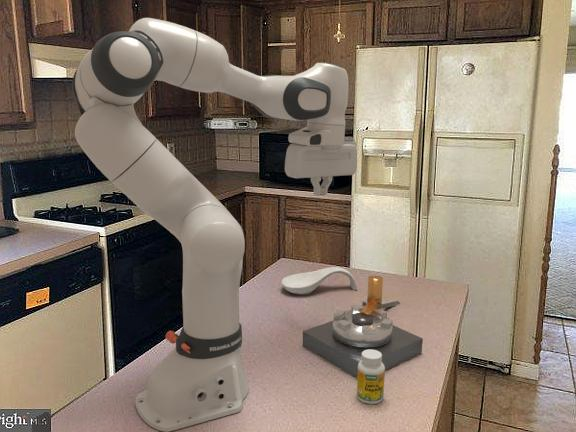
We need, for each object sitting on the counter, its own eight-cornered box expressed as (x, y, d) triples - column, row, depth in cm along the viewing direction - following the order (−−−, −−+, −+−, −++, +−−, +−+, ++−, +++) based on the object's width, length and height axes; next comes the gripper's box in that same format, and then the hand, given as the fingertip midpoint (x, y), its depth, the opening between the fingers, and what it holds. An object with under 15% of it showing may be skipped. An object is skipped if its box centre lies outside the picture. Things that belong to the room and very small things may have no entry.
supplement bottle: (377, 388, 107) (379, 346, 105) (387, 403, 102) (390, 359, 100) (352, 391, 106) (354, 348, 104) (362, 406, 101) (364, 361, 98)
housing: (362, 381, 109) (363, 363, 108) (302, 346, 125) (302, 330, 124) (421, 354, 121) (422, 337, 120) (360, 324, 137) (361, 310, 136)
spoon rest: (284, 299, 154) (284, 277, 152) (278, 286, 165) (278, 264, 164) (360, 295, 158) (361, 273, 156) (349, 282, 169) (350, 261, 168)
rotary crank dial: (383, 352, 113) (385, 307, 111) (323, 339, 119) (324, 296, 116) (402, 320, 130) (405, 280, 127) (349, 310, 135) (351, 271, 133)
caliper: (362, 326, 137) (363, 304, 135) (358, 325, 137) (359, 303, 136) (400, 303, 152) (401, 283, 150) (396, 302, 152) (398, 282, 151)
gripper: (347, 135, 128) (341, 189, 131) (282, 134, 115) (278, 195, 118) (365, 137, 123) (360, 194, 126) (301, 137, 110) (296, 200, 113)
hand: (320, 194), depth 122 cm, fingers closed
